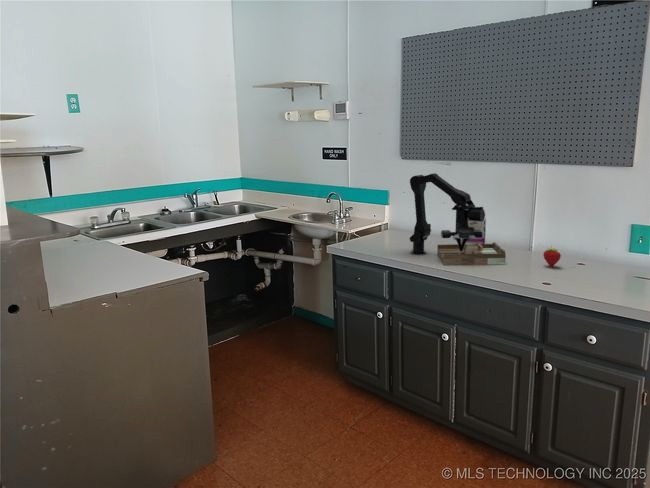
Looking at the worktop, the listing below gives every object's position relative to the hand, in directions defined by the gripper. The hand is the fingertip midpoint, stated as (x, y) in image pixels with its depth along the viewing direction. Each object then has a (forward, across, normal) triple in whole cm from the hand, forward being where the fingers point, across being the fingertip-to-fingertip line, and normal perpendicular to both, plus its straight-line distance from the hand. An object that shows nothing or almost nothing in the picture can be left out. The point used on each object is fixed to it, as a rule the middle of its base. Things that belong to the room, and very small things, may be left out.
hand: (460, 251), depth 244 cm
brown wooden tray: (+4, +4, 0) cm, 6 cm away
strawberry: (+4, +37, -15) cm, 40 cm away
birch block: (+1, +5, 0) cm, 5 cm away
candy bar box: (+4, +10, +19) cm, 22 cm away
